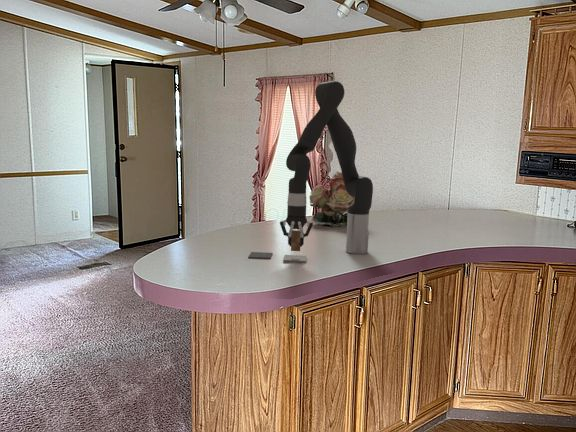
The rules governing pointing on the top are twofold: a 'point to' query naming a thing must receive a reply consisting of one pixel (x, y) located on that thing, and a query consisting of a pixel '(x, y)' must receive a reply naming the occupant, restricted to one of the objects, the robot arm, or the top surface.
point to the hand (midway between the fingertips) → (295, 245)
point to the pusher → (295, 240)
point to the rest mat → (260, 255)
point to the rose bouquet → (332, 202)
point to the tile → (294, 259)
